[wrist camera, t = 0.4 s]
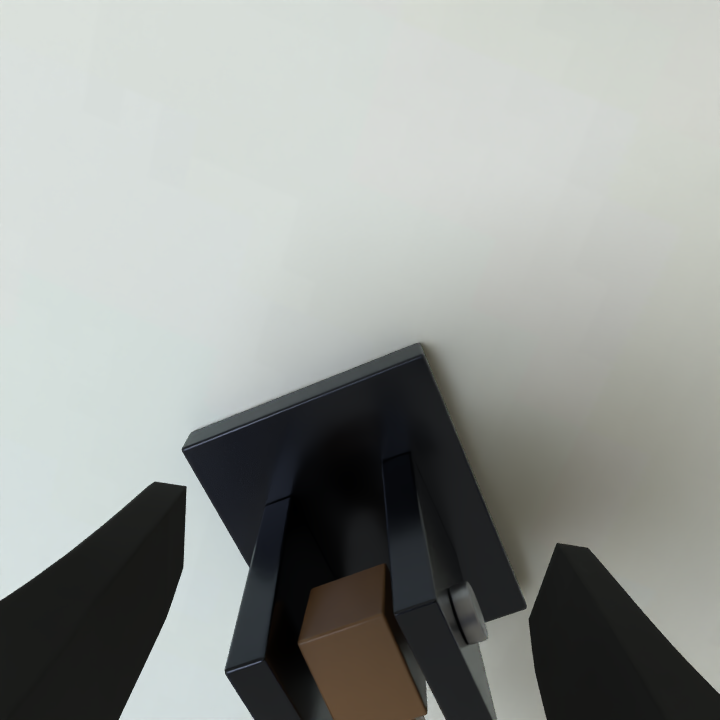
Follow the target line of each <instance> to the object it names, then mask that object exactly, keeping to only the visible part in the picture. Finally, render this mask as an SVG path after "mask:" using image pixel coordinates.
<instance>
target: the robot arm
mask: <svg viewBox="0 0 720 720" xmlns="http://www.w3.org/2000/svg"><path fill="white" fill-rule="evenodd" d="M185 512H186V486H180V485H174V484H167V483H161V482H154V483H152V484H151V485H149V486H148V487H147V488H146V489H144V490H143V491H142V492H141V493H140V494H139V495H138V496H136V497H135V498H134V499H133V500H132V501H131V502H130V503H128V504H127V505H126V506H125V507H124V508H123V509H122V510H120V511H119V512H118V513H117V514H116V515H114V516H113V517H112V518H111V519H110V520H109V521H107V522H106V523H105V524H104V525H103V526H101V527H100V528H99V529H98V530H96V531H95V532H94V533H93V534H91V535H90V536H89V537H88V538H86V539H85V540H84V541H83V542H81V543H80V544H79V545H78V546H76V547H75V548H74V549H73V550H71V551H70V552H69V553H67V554H66V555H65V556H64V557H62V558H61V559H59V560H58V561H57V562H55V563H54V564H53V565H51V566H50V567H48V568H47V569H46V570H44V571H43V572H42V573H40V574H39V575H37V576H36V577H35V578H33V579H32V580H31V581H29V582H28V583H26V584H25V585H23V586H22V587H20V588H19V589H17V590H16V591H14V592H13V593H11V594H10V595H8V596H7V597H5V598H4V599H2V600H1V601H0V720H119V718H120V716H121V714H122V711H123V709H124V707H125V705H126V703H127V701H128V699H129V697H130V694H131V692H132V690H133V688H134V686H135V684H136V682H137V680H138V678H139V675H140V673H141V671H142V669H143V667H144V665H145V663H146V661H147V658H148V656H149V654H150V652H151V650H152V648H153V646H154V643H155V641H156V639H157V637H158V635H159V633H160V631H161V628H162V626H163V624H164V622H165V620H166V617H167V615H168V612H169V609H170V606H171V603H172V600H173V597H174V594H175V591H176V588H177V585H178V582H179V579H180V576H181V573H182V570H183V562H184V537H185ZM529 627H530V636H531V645H532V653H533V660H534V667H535V673H536V678H537V682H538V686H539V690H540V694H541V698H542V702H543V706H544V710H545V714H546V718H547V720H720V694H719V693H718V692H717V691H716V690H715V689H714V688H713V687H712V686H711V685H710V684H709V683H708V682H707V681H706V680H705V679H704V678H703V677H702V676H701V675H700V674H699V673H698V672H697V671H696V670H695V669H694V668H693V667H692V665H691V664H690V663H689V662H688V661H687V660H686V659H685V658H684V657H683V656H682V655H681V654H680V653H679V652H678V651H677V650H676V648H675V647H674V646H673V645H672V644H671V643H670V642H669V641H668V640H667V639H666V637H665V636H664V635H663V634H662V633H661V632H660V631H659V630H658V629H657V627H656V626H655V625H654V624H653V623H652V622H651V621H650V619H649V618H648V617H647V616H646V615H645V614H644V613H643V611H642V610H641V609H640V608H639V607H638V606H637V604H636V603H635V602H634V601H633V600H632V599H631V597H630V596H629V595H628V594H627V593H626V591H625V590H624V589H623V588H622V587H621V586H620V584H619V583H618V582H617V581H616V580H615V578H614V577H613V576H612V575H611V574H610V573H609V571H608V570H607V569H606V568H605V567H604V565H603V564H602V563H601V562H600V561H599V560H598V559H597V557H596V556H595V555H594V554H593V553H592V552H591V551H590V550H589V549H588V548H586V547H579V546H573V545H566V544H560V543H557V544H556V547H555V549H554V552H553V555H552V557H551V560H550V563H549V566H548V568H547V571H546V574H545V576H544V579H543V582H542V585H541V587H540V590H539V593H538V595H537V598H536V601H535V604H534V606H533V609H532V612H531V614H530V617H529Z"/></svg>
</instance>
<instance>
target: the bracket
mask: <svg viewBox="0 0 720 720" xmlns="http://www.w3.org/2000/svg"><path fill="white" fill-rule="evenodd" d="M182 452H183V454H184V455H185V457H186V459H187V461H188V462H189V464H190V466H191V468H192V469H193V471H194V473H195V474H196V476H197V478H198V480H199V481H200V483H201V485H202V487H203V488H204V490H205V492H206V493H207V495H208V497H209V499H210V500H211V502H212V504H213V506H214V507H215V509H216V511H217V512H218V514H219V516H220V518H221V519H222V521H223V523H224V525H225V526H226V528H227V530H228V532H229V533H230V535H231V537H232V538H233V540H234V542H235V544H236V545H237V547H238V549H239V551H240V552H241V554H242V556H243V557H244V559H245V561H246V563H247V564H248V566H249V568H250V569H249V573H248V577H247V581H246V585H245V589H244V593H243V597H242V601H241V606H240V610H239V614H238V618H237V622H236V626H235V630H234V634H233V638H232V642H231V646H230V651H229V655H228V659H227V663H226V667H225V674H226V676H227V678H228V679H229V681H230V682H231V684H232V685H233V687H234V689H235V690H236V692H237V693H238V695H239V696H240V698H241V699H242V701H243V703H244V704H245V706H246V707H247V709H248V710H249V712H250V714H251V715H252V717H253V718H254V720H333V719H332V716H331V714H330V712H329V710H328V708H327V706H326V704H325V701H324V699H323V697H322V695H321V693H320V691H319V689H318V687H317V684H316V682H315V680H314V678H313V676H312V674H311V672H310V669H309V667H308V665H307V663H306V661H305V659H304V657H303V654H302V652H301V650H300V648H299V646H298V638H299V634H300V630H301V627H302V623H303V619H304V615H305V611H306V607H307V603H308V599H309V595H310V591H311V589H313V588H315V587H318V586H321V585H324V584H326V583H329V582H332V581H335V580H338V579H341V578H343V577H346V576H349V575H352V574H355V573H358V572H360V571H363V570H366V569H369V568H372V567H375V566H377V565H380V564H383V563H385V564H386V565H387V567H388V569H389V571H390V578H391V591H392V604H393V615H394V617H395V619H396V621H397V623H398V625H399V627H400V629H401V631H402V633H403V635H404V637H405V639H406V641H407V643H408V645H409V647H410V649H411V651H412V653H413V655H414V657H415V659H416V661H417V663H418V665H419V667H420V669H421V671H422V673H423V675H424V677H425V679H426V681H427V683H428V685H429V687H430V689H431V691H432V693H433V695H434V697H435V699H436V701H437V703H438V705H439V707H440V709H441V711H442V713H443V715H444V717H445V719H446V720H497V717H496V713H495V709H494V705H493V701H492V696H491V692H490V688H489V684H488V680H487V676H486V672H485V668H484V663H483V659H482V655H481V651H480V647H479V642H482V641H485V640H487V639H488V633H487V629H486V625H485V622H488V621H491V620H494V619H497V618H500V617H503V616H506V615H509V614H512V613H515V612H518V611H521V610H524V609H526V608H527V605H526V602H525V599H524V597H523V594H522V591H521V588H520V586H519V583H518V581H517V578H516V576H515V573H514V571H513V568H512V566H511V564H510V561H509V559H508V556H507V554H506V551H505V549H504V546H503V544H502V541H501V539H500V537H499V534H498V532H497V529H496V527H495V524H494V522H493V519H492V517H491V515H490V512H489V510H488V507H487V505H486V502H485V500H484V497H483V495H482V493H481V490H480V488H479V485H478V483H477V480H476V478H475V475H474V473H473V470H472V468H471V466H470V463H469V461H468V458H467V456H466V453H465V451H464V448H463V446H462V444H461V441H460V439H459V436H458V434H457V431H456V429H455V426H454V424H453V422H452V419H451V417H450V414H449V412H448V409H447V407H446V404H445V402H444V399H443V397H442V395H441V392H440V390H439V387H438V385H437V382H436V380H435V377H434V375H433V373H432V370H431V368H430V365H429V363H428V360H427V358H426V355H425V353H424V351H423V348H422V346H421V344H420V343H416V344H413V345H411V346H408V347H406V348H403V349H401V350H398V351H395V352H393V353H390V354H388V355H385V356H383V357H380V358H378V359H375V360H373V361H370V362H368V363H365V364H363V365H360V366H358V367H355V368H353V369H350V370H348V371H345V372H343V373H340V374H338V375H335V376H333V377H330V378H328V379H325V380H323V381H320V382H317V383H315V384H312V385H310V386H307V387H305V388H302V389H300V390H297V391H295V392H292V393H290V394H287V395H285V396H282V397H280V398H277V399H275V400H272V401H270V402H267V403H265V404H262V405H260V406H257V407H255V408H252V409H250V410H247V411H245V412H242V413H239V414H237V415H234V416H232V417H229V418H227V419H224V420H222V421H219V422H217V423H214V424H212V425H209V426H207V427H204V428H202V429H199V430H197V431H194V432H192V433H190V435H189V437H188V438H187V440H186V442H185V444H184V446H183V447H182Z"/></svg>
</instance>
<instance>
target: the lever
mask: <svg viewBox="0 0 720 720" xmlns="http://www.w3.org/2000/svg"><path fill="white" fill-rule="evenodd" d="M298 646H299V648H300V650H301V652H302V654H303V657H304V659H305V661H306V663H307V665H308V667H309V669H310V672H311V674H312V676H313V678H314V680H315V682H316V684H317V687H318V689H319V691H320V693H321V695H322V697H323V699H324V701H325V704H326V706H327V708H328V710H329V712H330V714H331V716H332V719H333V720H425V718H424V715H426V714H427V694H426V679H425V677H424V675H423V673H422V671H421V669H420V667H419V665H418V663H417V661H416V659H415V657H414V655H413V653H412V651H411V649H410V647H409V645H408V643H407V641H406V639H405V637H404V635H403V633H402V631H401V629H400V627H399V625H398V623H397V621H396V619H395V617H394V615H393V604H392V591H391V578H390V571H389V569H388V567H387V565H386V564H385V563H383V564H380V565H377V566H375V567H372V568H369V569H366V570H363V571H360V572H358V573H355V574H352V575H349V576H346V577H343V578H341V579H338V580H335V581H332V582H329V583H326V584H324V585H321V586H318V587H315V588H313V589H311V591H310V595H309V599H308V603H307V607H306V611H305V615H304V619H303V623H302V627H301V630H300V634H299V638H298Z"/></svg>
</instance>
